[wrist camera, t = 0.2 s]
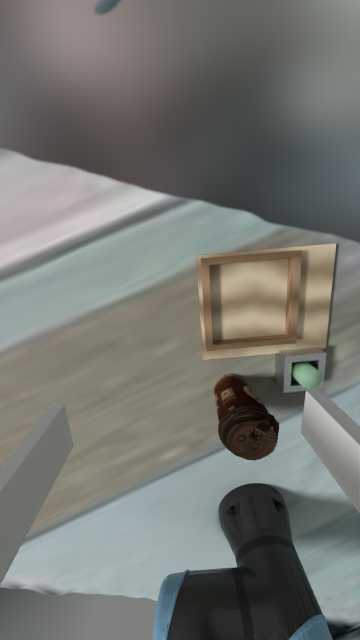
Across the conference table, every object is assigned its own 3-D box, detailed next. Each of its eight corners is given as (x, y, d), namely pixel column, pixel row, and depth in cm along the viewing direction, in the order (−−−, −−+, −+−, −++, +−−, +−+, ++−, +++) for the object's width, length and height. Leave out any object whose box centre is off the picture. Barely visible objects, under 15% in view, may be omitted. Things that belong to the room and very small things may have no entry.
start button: (309, 377, 41) (321, 388, 38) (289, 378, 41) (299, 389, 38) (310, 359, 40) (323, 368, 37) (290, 360, 40) (301, 370, 37)
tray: (322, 346, 42) (333, 353, 39) (202, 357, 42) (204, 365, 39) (332, 243, 37) (345, 242, 34) (196, 255, 37) (198, 255, 34)
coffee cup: (247, 362, 42) (278, 408, 30) (257, 399, 45) (290, 455, 32) (202, 376, 43) (214, 426, 30) (214, 412, 45) (230, 472, 33)
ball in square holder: (311, 378, 44) (322, 389, 40) (275, 382, 44) (283, 392, 40) (314, 344, 42) (326, 352, 38) (276, 348, 42) (285, 356, 38)
